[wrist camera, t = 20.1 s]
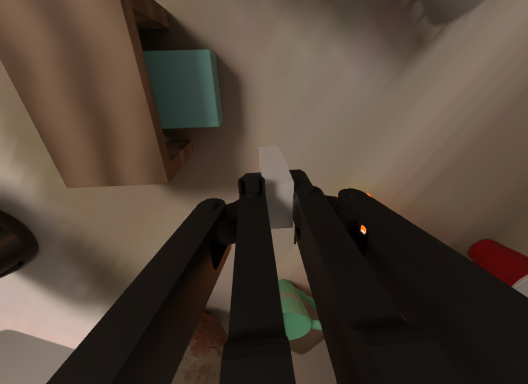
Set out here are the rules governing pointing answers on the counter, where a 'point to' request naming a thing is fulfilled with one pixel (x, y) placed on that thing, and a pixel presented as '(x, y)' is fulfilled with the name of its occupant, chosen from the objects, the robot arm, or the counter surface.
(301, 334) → the mug
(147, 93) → the shelf
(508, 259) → the plastic cup
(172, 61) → the teal rectangular block
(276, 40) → the counter surface
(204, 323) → the jug
